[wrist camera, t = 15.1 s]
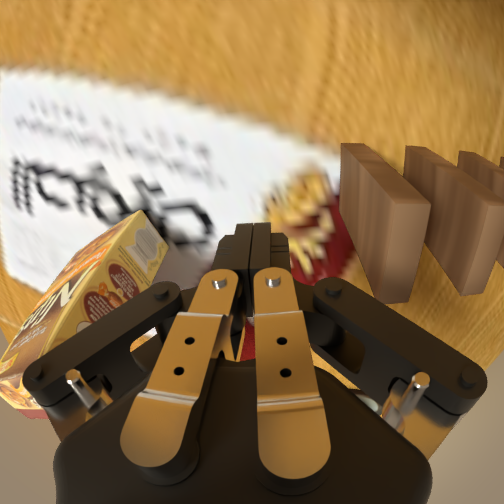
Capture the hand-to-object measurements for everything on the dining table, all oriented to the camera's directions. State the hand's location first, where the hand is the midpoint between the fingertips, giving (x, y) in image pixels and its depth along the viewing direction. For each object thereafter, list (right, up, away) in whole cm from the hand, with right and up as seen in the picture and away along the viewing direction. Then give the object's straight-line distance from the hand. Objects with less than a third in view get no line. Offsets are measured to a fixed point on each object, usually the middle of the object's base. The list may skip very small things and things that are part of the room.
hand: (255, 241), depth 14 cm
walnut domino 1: (+7, +5, +6) cm, 10 cm away
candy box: (-11, 0, +11) cm, 16 cm away
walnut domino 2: (+12, +5, +6) cm, 14 cm away
